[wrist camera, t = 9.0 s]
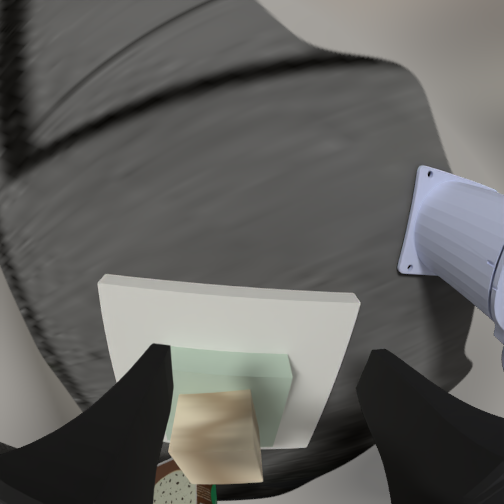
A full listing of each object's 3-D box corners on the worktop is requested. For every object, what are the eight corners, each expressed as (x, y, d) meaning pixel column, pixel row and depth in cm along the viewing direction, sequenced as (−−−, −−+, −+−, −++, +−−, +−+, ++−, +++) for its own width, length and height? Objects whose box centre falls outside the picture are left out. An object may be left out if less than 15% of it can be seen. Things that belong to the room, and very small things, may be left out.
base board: (353, 292, 21) (374, 322, 17) (304, 436, 27) (310, 465, 23) (105, 273, 19) (81, 300, 15) (136, 425, 25) (128, 454, 22)
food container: (186, 483, 31) (181, 541, 21) (149, 467, 29) (138, 528, 20) (246, 459, 28) (250, 530, 19) (205, 441, 26) (200, 520, 17)
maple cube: (250, 389, 18) (253, 449, 13) (258, 429, 20) (263, 481, 15) (178, 394, 18) (168, 451, 14) (196, 433, 20) (191, 484, 15)
